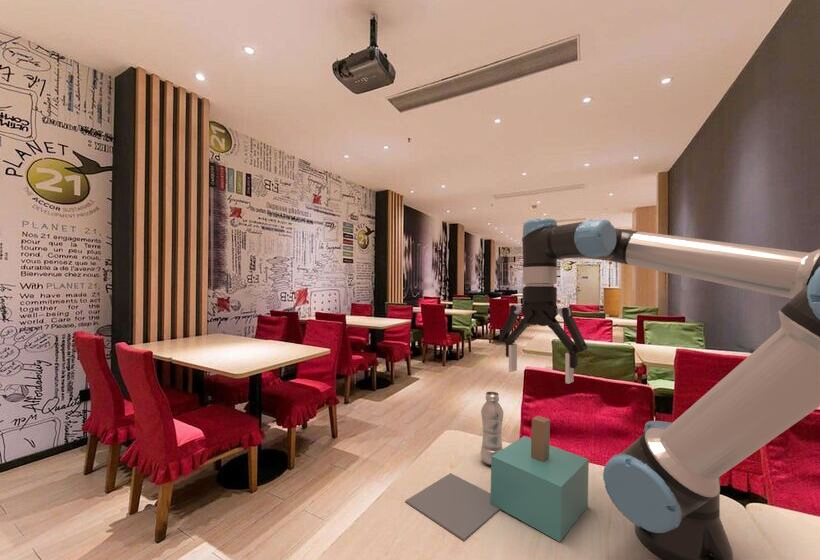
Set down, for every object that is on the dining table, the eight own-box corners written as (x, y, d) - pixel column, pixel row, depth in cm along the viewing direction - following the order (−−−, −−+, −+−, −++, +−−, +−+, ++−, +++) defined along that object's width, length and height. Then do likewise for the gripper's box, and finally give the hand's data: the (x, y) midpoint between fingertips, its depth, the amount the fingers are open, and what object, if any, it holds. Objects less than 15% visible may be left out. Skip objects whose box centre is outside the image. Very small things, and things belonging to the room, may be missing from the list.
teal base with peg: (587, 506, 79) (589, 420, 79) (560, 542, 68) (562, 441, 68) (523, 477, 90) (524, 402, 91) (490, 503, 79) (492, 417, 79)
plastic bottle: (503, 458, 101) (503, 390, 101) (504, 470, 94) (504, 398, 94) (480, 455, 102) (481, 389, 103) (480, 467, 96) (480, 396, 96)
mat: (507, 503, 80) (507, 501, 80) (463, 541, 68) (463, 539, 68) (450, 474, 92) (450, 473, 92) (405, 502, 80) (405, 500, 80)
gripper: (603, 285, 74) (603, 384, 73) (500, 285, 91) (500, 364, 91) (591, 285, 68) (591, 391, 68) (485, 285, 86) (484, 369, 86)
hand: (539, 376), depth 79 cm, fingers open, 13 cm apart
